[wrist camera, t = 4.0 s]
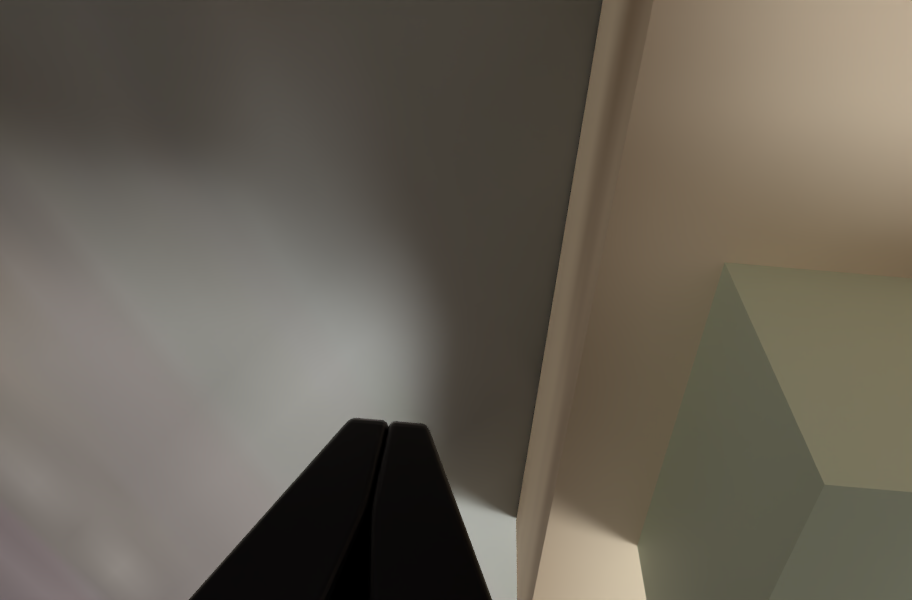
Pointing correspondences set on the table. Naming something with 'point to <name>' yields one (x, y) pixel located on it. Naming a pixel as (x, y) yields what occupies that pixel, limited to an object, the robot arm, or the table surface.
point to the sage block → (790, 445)
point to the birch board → (697, 236)
